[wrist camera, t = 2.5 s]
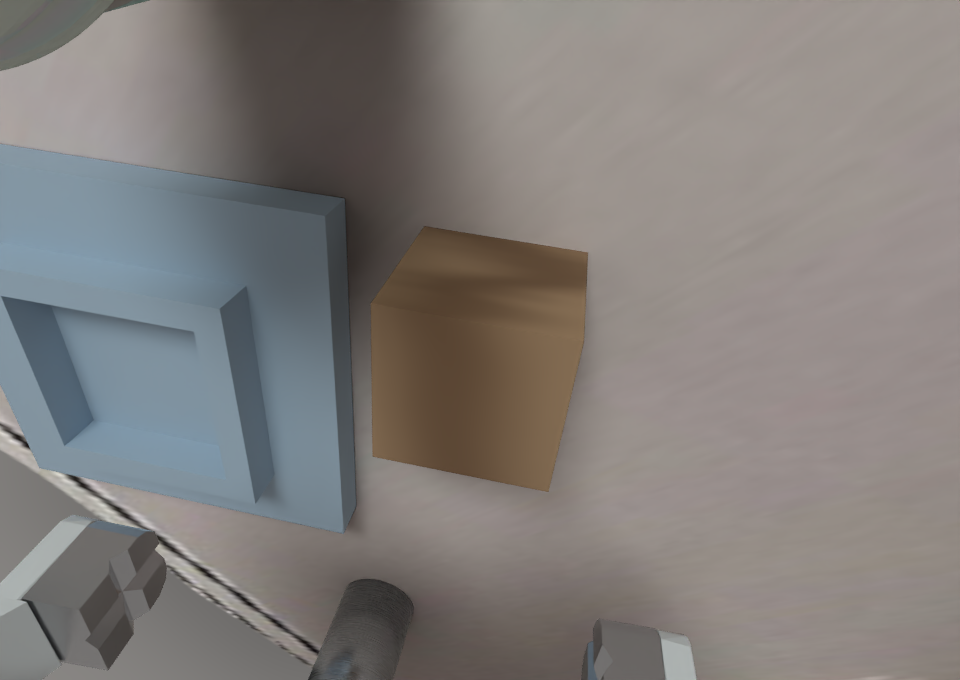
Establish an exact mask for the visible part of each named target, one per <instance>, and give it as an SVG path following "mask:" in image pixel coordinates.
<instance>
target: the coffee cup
mask: <svg viewBox="0 0 960 680" xmlns="http://www.w3.org/2000/svg"><path fill="white" fill-rule="evenodd" d="M145 1H148V0H0V71H2V70H6V69H10V68H14V67H17V66H20V65H23V64H26V63H29V62H31V61H34V60H36V59H39V58H41V57H43V56H45V55H47V54H49V53H51V52H53V51H55V50H57V49H58V48H60V47H62V46H63V45H65V44H66V43H68V42H69V41H71V40H72V39H74V38H75V37H76V36H78V35H79V34H80V33H82V32H83V31H84V30H85V29H86V28H88V27H89V26H90V25H91V24H92V23H93V22H94V21H95V20H96V19H98V18H99V16H100V15H101V14H102V13H104V12H108V11H111V10H115V9H119V8H123V7H126V6H130V5H134V4H137V3H141V2H145Z"/></svg>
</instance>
